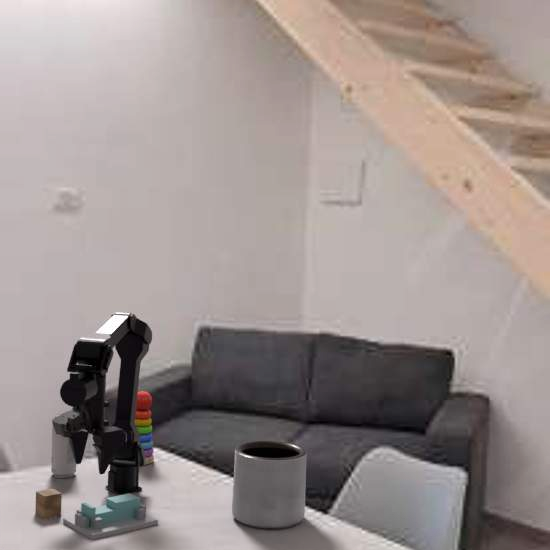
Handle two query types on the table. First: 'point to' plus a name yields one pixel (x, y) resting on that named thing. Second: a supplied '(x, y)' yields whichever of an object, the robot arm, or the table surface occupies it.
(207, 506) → the table surface
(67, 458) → the energy drink can
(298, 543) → the table surface
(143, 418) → the stacking toy
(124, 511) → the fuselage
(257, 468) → the planter
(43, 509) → the brown wooden cube
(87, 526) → the jig
